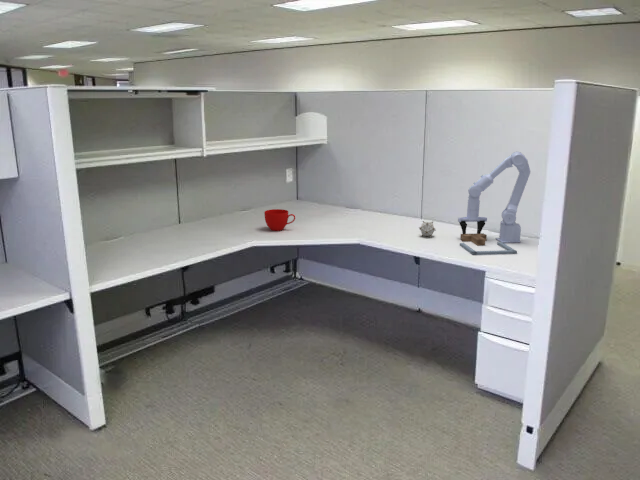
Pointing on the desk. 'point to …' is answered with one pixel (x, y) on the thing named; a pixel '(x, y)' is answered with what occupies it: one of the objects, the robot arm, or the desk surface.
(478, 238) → the walnut T-block
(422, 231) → the grey spiky ball
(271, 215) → the ceramic cup
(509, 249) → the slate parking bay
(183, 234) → the desk surface
